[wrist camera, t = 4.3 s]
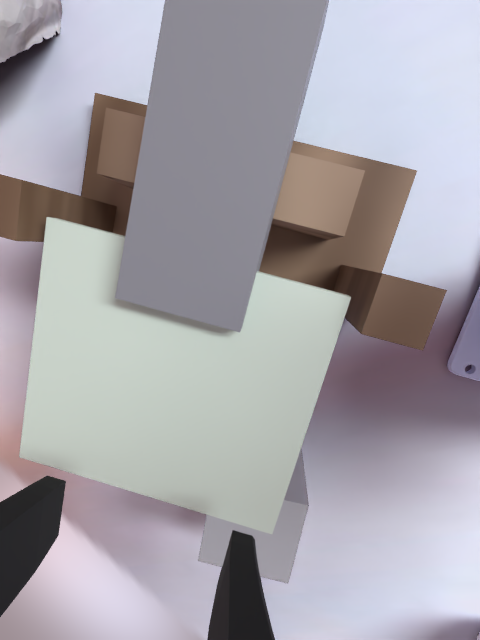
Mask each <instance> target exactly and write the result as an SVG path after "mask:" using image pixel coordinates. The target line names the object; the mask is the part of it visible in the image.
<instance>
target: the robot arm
mask: <svg viewBox="0 0 480 640" xmlns="http://www.w3.org/2000/svg"><path fill="white" fill-rule="evenodd" d="M467 365H471V369H470V370H469V371H465V368H466V366H467ZM447 367H448V369H449V370H450V372H452V373H453V374H455V375H458V376H462V377H465V378H469V379H473V380H476V381H480V287H479V289H478V291H477V294H476V296H475V299H474V301H473V303H472V306H471V308H470V310H469V313H468V315H467V318H466V320H465V322H464V325H463V327H462V330H461V332H460V334H459V337H458V339H457V341H456V344H455V346H454V349H453V351H452V353H451V356H450V358H449V361H448V364H447ZM65 483H66V481H64V480H60V479H57V478H53V477H50V476H46V477H44V478H42V479H40V480H39V481H37V482H35V483H33V484H31V485H30V486H28V487H26V488H24V489H23V490H21V491H19V492H17V493H16V494H14V495H12V496H10V497H9V498H7V499H5V500H3V501H2V502H0V617H1V615H2V614H3V613H4V612H5V610H6V609H7V608H8V606H9V605H10V604H11V603H12V601H13V600H14V599H15V597H16V596H17V595H18V594H19V592H20V591H21V590H22V588H23V587H24V586H25V585H26V583H27V582H28V581H29V579H30V578H31V577H32V575H33V574H34V573H35V571H36V570H37V568H38V567H39V565H40V564H41V562H42V560H43V559H44V557H45V556H46V554H47V553H48V551H49V549H50V548H51V546H52V544H53V543H54V541H55V539H56V538H57V536H58V533H59V526H60V519H61V512H62V505H63V498H64V490H65ZM208 640H275V638H274V635H273V631H272V627H271V623H270V619H269V615H268V611H267V606H266V602H265V598H264V593H263V589H262V584H261V578H260V573H259V567H258V561H257V554H256V545H255V539H254V537H253V536H252V535H248V534H245V533H241V532H238V531H235V530H232V534H231V537H230V541H229V545H228V548H227V552H226V555H225V559H224V562H223V566H222V570H221V573H220V577H219V580H218V584H217V589H216V594H215V599H214V604H213V609H212V615H211V620H210V625H209V632H208Z"/></svg>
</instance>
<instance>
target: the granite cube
mask: <svg viewBox="0 0 480 640" xmlns="http://www.w3.org/2000/svg"><path fill="white" fill-rule="evenodd" d="M308 506H309V505H308V497H307V489H306V480H305V472H304V464H303V456H302V448H301V450H300V453H299V456H298V459H297V462H296V465H295V468H294V471H293V474H292V477H291V480H290V483H289V486H288V489H287V492H286V495H285V498H284V501H283V504H282V507H281V510H280V513H279V516H278V519H277V522H276V525H275V528H274V531H273V534H269V533H265V532H262V531H259V530H255V529H252V528H249V527H246V526H242V525H239V524H236V523H233V522H229V521H226V520H223V519H219V518H216V517H213V516H210V515H206V521H205V526H204V531H203V537H202V542H201V548H200V553H199V558H198V561H200V562H204V563H208V564H212V565H216V566H220V567H222V566H223V562H224V559H225V555H226V552H227V548H228V545H229V541H230V537H231V534H232V530H235V531H238V532H241V533H245V534H248V535H252V536H253V537H254V539H255V545H256V554H257V561H258V567H259V573H260V577H264V578H268V579H272V580H276V581H280V582H284V583H288V582H289V578H290V575H291V571H292V567H293V563H294V559H295V556H296V552H297V548H298V544H299V540H300V537H301V533H302V529H303V525H304V521H305V518H306V514H307V510H308Z"/></svg>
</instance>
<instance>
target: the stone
mask: <svg viewBox="0 0 480 640" xmlns="http://www.w3.org/2000/svg"><path fill="white" fill-rule="evenodd" d="M61 17H62V5H61V0H0V63H1V62H5V61H6V59H9V58H10V56H11V57H12V56H16V55H17V53H19V52H20V53H21V52H22V51H23V50H24V51H25V50H26V49H27V50H28V49H29V48H30V47H31V46H32V45H34V44H37V43H41V42H42V41H43V37H44V39H45V38H46V40H47V39H49V38H50V37H53V34H54V35H55V36H56V34H55V32H56V31H57V32H58V34H60V28H61Z"/></svg>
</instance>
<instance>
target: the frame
mask: <svg viewBox="0 0 480 640" xmlns="http://www.w3.org/2000/svg"><path fill="white" fill-rule="evenodd" d="M146 111H147V105H143V104H139V103H135V102H131V101H127V100H123V99H119V98H114V97H110V96H106V95H102V94H98V93H95V97H94V105H93V112H92V119H91V127H90V134H89V141H88V149H87V156H86V164H85V171H84V178H83V186H82V193H81V196H78V195H74V194H71V193H67V192H63V191H60V190H56V189H52V188H49V187H45V186H42V185H38V184H34V183H31V182H27V181H23V180H20V179H16V178H12V177H8V176H4V175H0V237H4V238H7V239H11V240H15V241H35V242H44V236H45V228H46V219H47V217H52V218H58V219H62V220H66V221H70V222H73V223H77V224H81V225H85V226H88V227H92V228H96V229H100V230H104V231H107V232H111V233H115V234H119V235H123V236H125V235H126V230H127V224H128V218H129V212H130V206H131V200H132V194H133V188H134V182H135V176H136V170H137V164H138V158H139V153H140V147H141V141H142V135H143V129H144V123H145V117H146ZM416 172H417V171H416V170H412V169H408V168H404V167H400V166H396V165H392V164H387V163H383V162H379V161H375V160H371V159H367V158H363V157H359V156H354V155H350V154H346V153H342V152H338V151H334V150H330V149H325V148H321V147H317V146H313V145H309V144H305V143H301V142H296V141H293V144H292V148H291V152H290V156H289V159H288V163H287V167H286V171H285V175H284V178H283V182H282V186H281V190H280V193H279V197H278V201H277V205H276V209H275V212H274V216H273V220H272V224H271V228H270V231H269V235H268V239H267V243H266V246H265V250H264V254H263V258H262V262H261V265H260V269H259V272H263V273H266V274H270V275H274V276H278V277H282V278H285V279H289V280H293V281H297V282H301V283H304V284H308V285H312V286H316V287H320V288H323V289H327V290H331V291H335V292H338V293H342V294H346V295H349V296H350V297H351V300H350V303H349V306H348V309H347V312H346V315H345V318H346V319H347V320H348V321H349V322H350V323H351V324H352V325H353V326H354V327H355V328H356V329H357V330H358V331H359V332H360V333H361V334H363V335H367V336H371V337H375V338H378V339H382V340H386V341H389V342H393V343H397V344H401V345H404V346H408V347H412V348H415V349H419V350H423V349H424V346H425V344H426V341H427V339H428V336H429V334H430V331H431V329H432V326H433V324H434V321H435V319H436V316H437V314H438V311H439V308H440V306H441V303H442V301H443V298H444V296H445V293H446V291H447V290H444V289H440V288H436V287H432V286H429V285H425V284H421V283H417V282H413V281H409V280H405V279H402V278H398V277H394V276H390V275H386V274H382V270H383V267H384V264H385V261H386V258H387V255H388V253H389V250H390V247H391V244H392V241H393V238H394V235H395V232H396V230H397V227H398V224H399V221H400V218H401V215H402V212H403V209H404V207H405V204H406V201H407V198H408V195H409V192H410V189H411V186H412V184H413V181H414V178H415V175H416Z"/></svg>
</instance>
